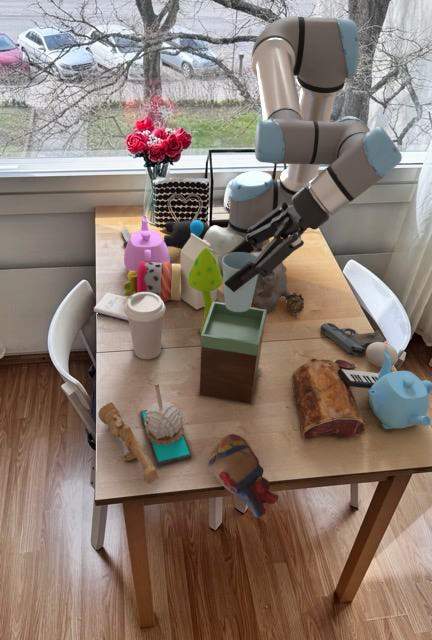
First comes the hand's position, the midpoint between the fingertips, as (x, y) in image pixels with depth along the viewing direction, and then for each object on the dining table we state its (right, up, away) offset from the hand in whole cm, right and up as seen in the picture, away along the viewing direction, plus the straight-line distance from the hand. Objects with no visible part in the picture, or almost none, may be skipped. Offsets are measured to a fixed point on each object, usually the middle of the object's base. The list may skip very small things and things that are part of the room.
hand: (227, 275), depth 111 cm
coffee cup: (-19, -14, +26) cm, 35 cm away
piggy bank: (+9, +3, +44) cm, 45 cm away
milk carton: (-7, +1, +42) cm, 42 cm away
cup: (+2, -6, +5) cm, 8 cm away
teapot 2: (+37, -29, +13) cm, 49 cm away
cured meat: (+24, -25, +17) cm, 39 cm away
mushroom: (-6, -9, +32) cm, 33 cm away
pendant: (+21, -2, +39) cm, 45 cm away
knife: (-32, +22, +60) cm, 71 cm away
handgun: (+39, -7, +34) cm, 52 cm away
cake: (-12, +6, +38) cm, 41 cm away
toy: (-18, +23, +55) cm, 62 cm away
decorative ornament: (-13, -33, +6) cm, 36 cm away
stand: (+1, -22, +19) cm, 29 cm away
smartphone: (-13, -33, +6) cm, 36 cm away
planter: (+5, +14, +47) cm, 49 cm away
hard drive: (-22, -3, +35) cm, 41 cm away
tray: (+2, -11, +8) cm, 14 cm away
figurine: (-14, -40, -6) cm, 43 cm away
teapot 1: (-23, +13, +52) cm, 58 cm away
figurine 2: (+39, -12, +21) cm, 45 cm away
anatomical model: (-2, -34, -3) cm, 34 cm away
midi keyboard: (+32, -19, +17) cm, 42 cm away
